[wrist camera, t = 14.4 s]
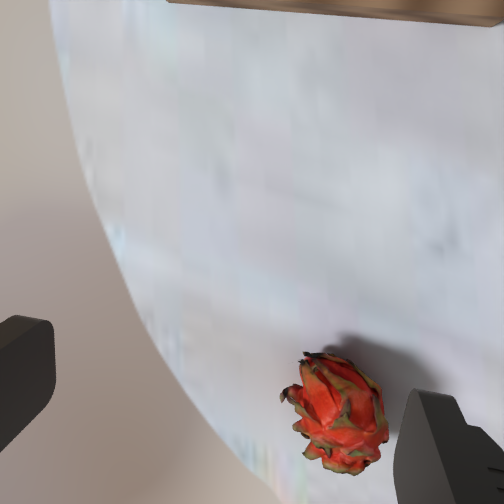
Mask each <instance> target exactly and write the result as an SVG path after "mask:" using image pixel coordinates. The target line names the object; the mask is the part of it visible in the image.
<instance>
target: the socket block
mask: <svg viewBox="0 0 504 504" xmlns="http://www.w3.org/2000/svg"><path fill="white" fill-rule="evenodd" d="M166 1H167V2H169V3H180V4H193V5H206V6H219V7H233V8H246V9H259V10H272V11H285V12H298V13H311V14H324V15H337V16H350V17H363V18H376V19H389V20H402V21H416V22H429V23H442V24H455V25H468V26H481V27H492V26H494V25H496V24H498V23H499V22H501V21H503V20H504V0H166Z"/></svg>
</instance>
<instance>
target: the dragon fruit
mask: <svg viewBox="0 0 504 504" xmlns="http://www.w3.org/2000/svg"><path fill="white" fill-rule="evenodd" d="M327 354H328V355H327ZM327 354H324V353H311V354H310V353H309V352H303V355H304V356H307V357H306V358H305V359H304V360H303V359H302V360H301V361H298V362H300V363H301V364H300V366H299V371H300V376H301V379H302V382H303V386H300V385H297V384H293V386H290V387H287V388H285V389H283V391H282V393H281V394H280V400H281V403H282V402H283V401H284V399H285V398H287V401H288V402H289V403H291V404H293V405H295V412H296V413H297V414H299V415H300V416H302V417H303V419H301V420H299V421H297V422H296V423H295V424H293V425H292V426H293V430H294V431H297V432H301V435H302V436H303V437H304V438H306V439H311V442H310V443H309V445H308V446H307V448H306V450H305V452H304V453H302V454H303V455H304V456H305V457H306V458H307V459H309V460H314V459H317V458H319V457H321V458H322V464H323V468H325V469H328V470H331V471H333V472H336V473H342V474H344V473H348V474H351V475H353V476H356V475H358V474H359V473H361V472H362V471H364V469H365V467H367V466H369V465H370V464H371V463H373V462H376V461H378V460H379V459H380V458H381V453H380V450H379V448H378V446H379V445H380V444H381V443H383V444H384V443H387V442H388V440H389V430H388V422H387V420H386V419H385V417H384V406H383V401H382V389H381V387H380V386H379V385H378V384H377V383H375V382H374V381H373V380H372V379H370V378H369V377H367V376H366V375H365V373H363V371H361V370H359V369H358V367H357V366H355V365H354V364H353V363H352V362H351V361H350V360H348V359H347V360H346V361H347V362H346V361H345V360H343V359H341V358H338V357H336V356H335V355H334V354H329V353H327ZM290 397H291V398H292V399H291V398H290ZM293 399H294V400H295V401H296V402H295V401H294V400H293Z"/></svg>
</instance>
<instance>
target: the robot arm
mask: <svg viewBox="0 0 504 504" xmlns="http://www.w3.org/2000/svg"><path fill="white" fill-rule="evenodd" d="M55 384H56V365H55V345H54V329H53V326H52V324H51V323H50V322H49V321H47V320H42V319H37V318H31V317H26V316H20V315H14V316H11V317H10V318H8V319H6V320H5V321H3V322H2V323H0V452H1V451H2V450H3V449H4V448H5V447H6V446H7V445H8V444H9V443H10V442H11V441H12V440H13V439H14V438H15V437H16V436H17V435H18V434H19V433H20V432H21V431H22V430H23V429H24V428H25V427H26V426H27V425H28V424H29V423H30V422H31V421H32V420H33V419H34V418H35V417H36V416H37V415H38V414H39V413H40V412H41V411H42V410H43V409H44V408H45V407H46V405H47V404H48V403H49V401H50V399H51V397H52V395H53V392H54V389H55ZM393 475H394V484H395V490H396V495H397V500H398V504H504V452H503V450H502V448H501V447H500V446H499V445H498V444H497V443H496V442H495V441H494V440H493V439H492V438H491V437H490V436H489V435H488V434H487V433H486V432H485V431H484V430H482V429H481V428H480V427H477V426H471V425H467V423H466V421H465V419H464V417H463V415H462V412H461V410H460V408H459V406H458V404H457V402H456V400H455V398H454V397H453V396H451V395H446V394H440V393H435V392H429V391H424V390H418V389H413V390H412V391H411V393H410V395H409V398H408V402H407V405H406V409H405V413H404V417H403V421H402V425H401V429H400V433H399V436H398V440H397V444H396V448H395V454H394V463H393Z"/></svg>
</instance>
